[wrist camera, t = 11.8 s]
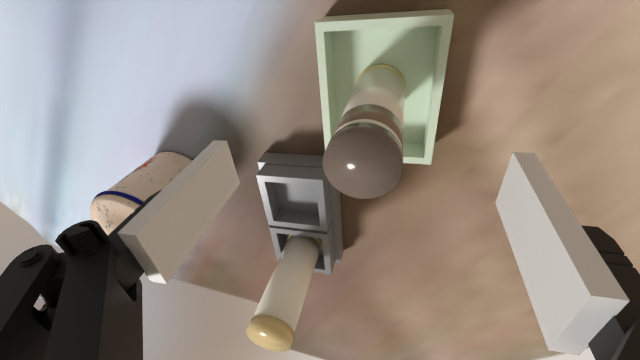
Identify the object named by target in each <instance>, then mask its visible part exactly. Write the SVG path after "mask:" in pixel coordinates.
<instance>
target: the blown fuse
mask: <svg viewBox="0 0 640 360" xmlns="http://www.w3.org/2000/svg"><path fill="white" fill-rule="evenodd" d="M405 92H406V85H405V80H404V77H403V76H402V74H401V73H400V71H399V70H397V69H396V68H395V67H393V66H391V65H388V64H375V65H372V66H369V67H368V68H366V69H365V70H364V71H363V72H362V73H361V74H360V75H359V77H358V79H357V81H356V83H355V86H354V89H353V92H352V94H351V96H350V98H349V101H348V103H347V105H346V107H345V110H344V112H343V114H342V116H341V119H340V120H339V122H338V125H337V127H336V129H335V131H334V134H333V136H332V138H331V139H330V141H329V143H328V146H327V148H326V150H325V152H324V155H323V170H324V173H325V175H326V177H327V179H328V181H329V182H330V183H331V184H332V185H333V186H334V187H335V188H336V189H337V190H339V191H340V192H342V193H343V194H346V195H348V196H351V197H354V198H360V199H372V198H377V197H380V196H383V195H385V194H387V193H388V192H390V191H391V190H393V189H394V188H395V187H396V185H397V184H398V183H399V181H400V179H401V176H402V172H403V126H404V101H405Z"/></svg>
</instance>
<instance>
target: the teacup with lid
mask: <svg viewBox="0 0 640 360" xmlns="http://www.w3.org/2000/svg"><path fill="white" fill-rule="evenodd" d="M191 162H192V160H191V159H189V158H187V157H186V156H183V155H181V154H178V153H174V152H161V153H158V154H156V155H154V156H153V157H152V158H150V159H149V160H148V161H146V162H145V163H144V164H142V165H141V166H140V167H138V168H137V169H136V170H134V171H133V172H132V173H130V174H129V175H128V176H126V177H125V178H124V179H122V180H121V181H120V182H118V183H117V184H116V185H114V186H113V187H112V188H110V189H109V190H108V191H104V192H101V193H99V194H98V195H97V196H96V197H95V198H94V200H93V201H92V203H91V206H90V215H91V218H92V220H94V221H96V222H98V223H99V224H100V226H101V227H102V228H103V230H104V231H105V233H106V234H107V235H109V234H110V233H111V232H112V231H113V230H114V229H115V228H116V227H118V226H119V225H120V224H121V223H122V222H123V221H124V220H125V219H126V218H127V217H128V216H129V215H130V214H131V213H134V211H135V210H136V209H137V208H138V207H139V206H141V204H142V203H143V202H144V201H145V200H146V199H147V198H148V197H150V196H151V195H153V194H155V193H156V192H158V191H160V190H163V189H164V188H165V187H166V186H167V185H168V184H169V183H170V182H171V181H172V180H173V179H174V178H175V177H176V176H177V175H178V174H179V173H180V172H181V171H182V170H183V169H184V168H185V167H186V166H188V165H189V164H190V163H191Z"/></svg>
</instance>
